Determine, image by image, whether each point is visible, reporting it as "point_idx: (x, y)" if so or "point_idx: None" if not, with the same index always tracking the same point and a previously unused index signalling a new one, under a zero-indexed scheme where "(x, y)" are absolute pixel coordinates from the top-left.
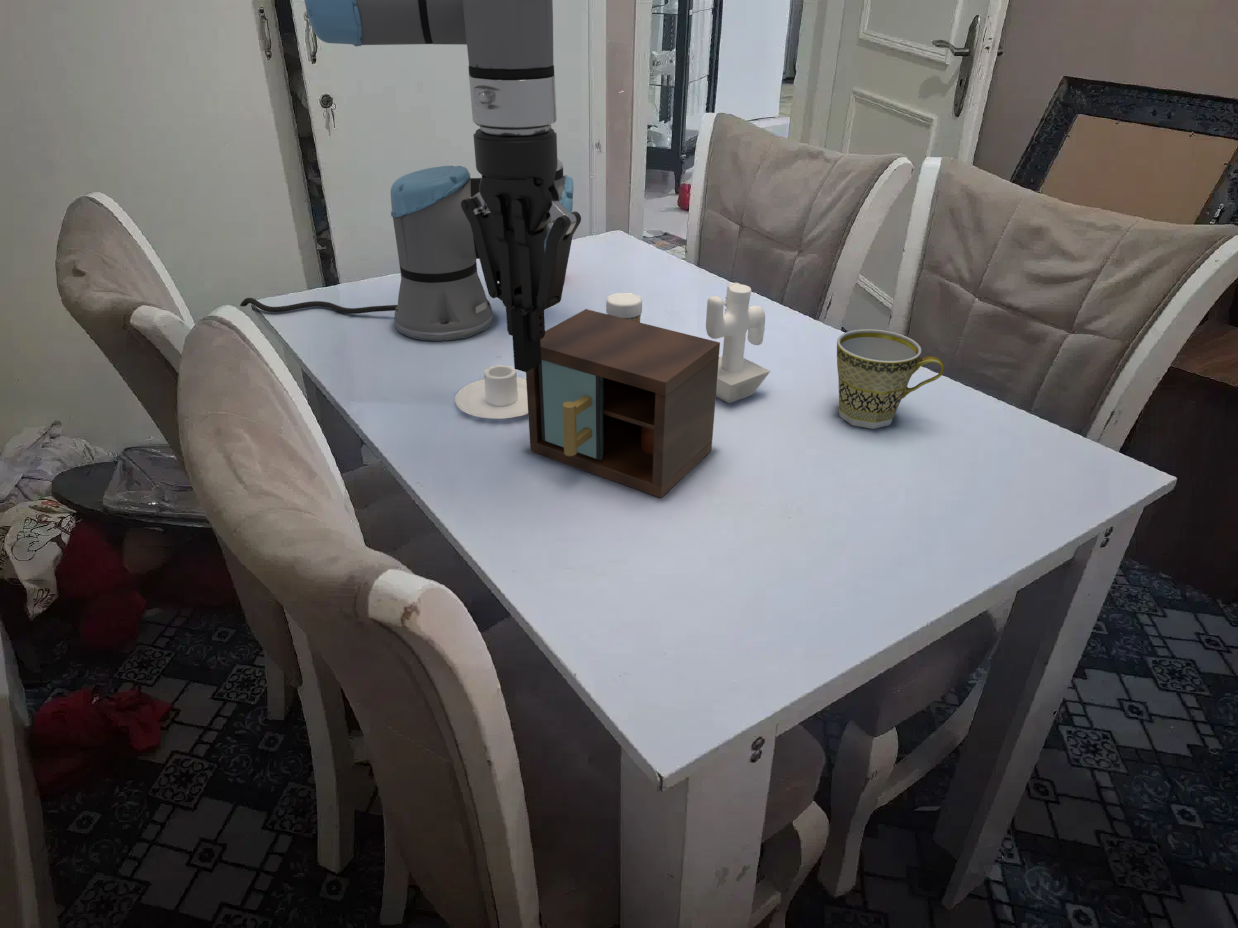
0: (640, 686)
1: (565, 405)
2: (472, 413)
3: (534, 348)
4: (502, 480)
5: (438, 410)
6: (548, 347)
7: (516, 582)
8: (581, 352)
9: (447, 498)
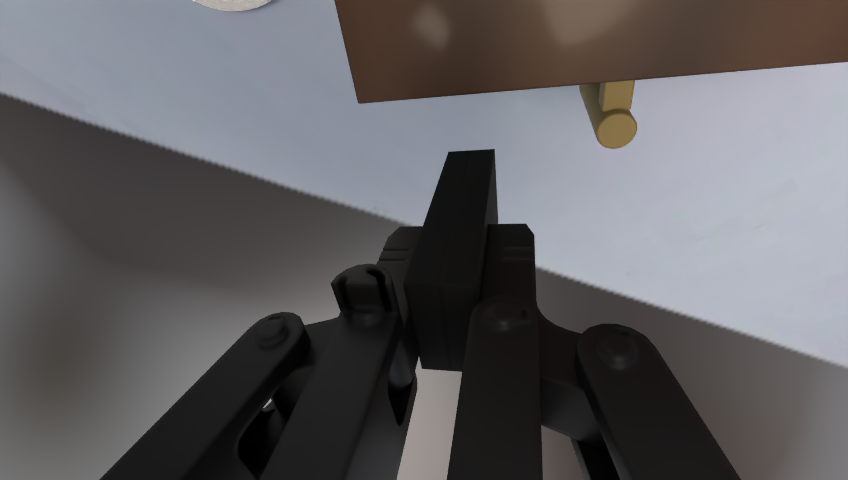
0: None
1: (610, 143)
2: (242, 4)
3: (492, 212)
4: (467, 133)
5: (180, 25)
6: (460, 83)
7: (644, 285)
8: (608, 29)
9: None
